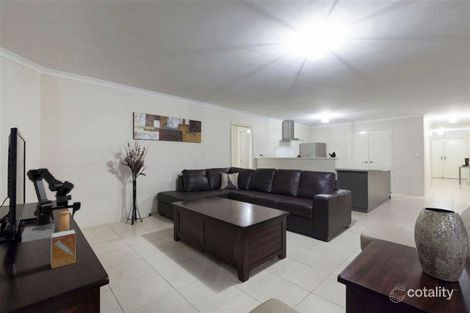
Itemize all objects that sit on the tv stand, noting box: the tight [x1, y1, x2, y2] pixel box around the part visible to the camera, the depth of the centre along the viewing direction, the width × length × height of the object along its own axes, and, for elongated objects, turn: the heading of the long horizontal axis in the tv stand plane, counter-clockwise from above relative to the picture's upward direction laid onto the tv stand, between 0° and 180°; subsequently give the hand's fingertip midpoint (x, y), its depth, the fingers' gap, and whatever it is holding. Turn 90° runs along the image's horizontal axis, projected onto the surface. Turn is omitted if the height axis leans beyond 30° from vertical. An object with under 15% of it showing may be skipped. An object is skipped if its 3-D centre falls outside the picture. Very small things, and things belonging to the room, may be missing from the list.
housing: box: [21, 223, 55, 243], centre depth 126 cm, size 13×13×4 cm
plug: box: [57, 210, 71, 232], centre depth 131 cm, size 6×6×13 cm
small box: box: [50, 229, 77, 270], centre depth 94 cm, size 8×6×13 cm
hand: (63, 219), depth 133 cm, fingers open, 9 cm apart
